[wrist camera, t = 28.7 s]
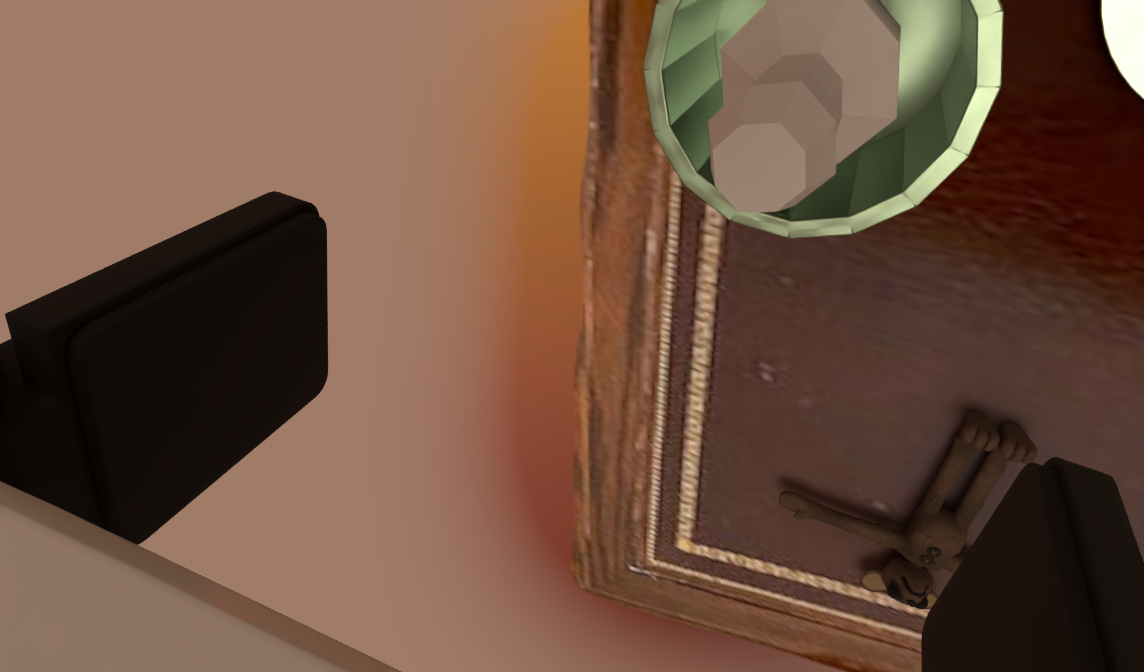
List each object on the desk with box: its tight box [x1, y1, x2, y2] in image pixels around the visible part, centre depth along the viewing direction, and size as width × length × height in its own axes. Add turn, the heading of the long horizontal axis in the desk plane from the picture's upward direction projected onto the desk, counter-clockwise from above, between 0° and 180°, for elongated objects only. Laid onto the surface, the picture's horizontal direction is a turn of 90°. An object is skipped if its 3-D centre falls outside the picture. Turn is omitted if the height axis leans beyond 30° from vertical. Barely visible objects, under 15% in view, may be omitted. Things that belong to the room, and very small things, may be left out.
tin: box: [643, 0, 1004, 239], centre depth 33 cm, size 13×13×10 cm
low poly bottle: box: [708, 0, 901, 212], centre depth 28 cm, size 6×6×22 cm
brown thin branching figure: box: [779, 411, 1037, 609], centre depth 46 cm, size 18×4×14 cm
